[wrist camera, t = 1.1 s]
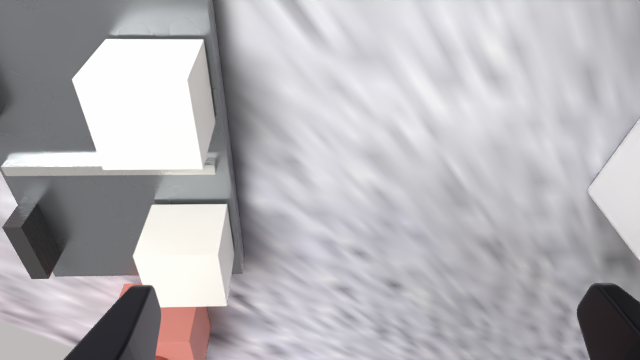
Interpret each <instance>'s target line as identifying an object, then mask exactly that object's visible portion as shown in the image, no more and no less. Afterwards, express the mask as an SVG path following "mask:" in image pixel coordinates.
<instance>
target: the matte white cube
mask: <svg viewBox="0 0 640 360" xmlns="http://www.w3.org/2000/svg"><path fill="white" fill-rule="evenodd" d="M133 258H134V261H135V264H136V267H137V270H138V273H139V276H140V278H141V281H142V284H143V285H152V286H153V287H154V289H155V291H156V295H157V298H158V301H159V305H160V307H206V306H227V301H228V295H229V288H230V281H231V274H232V267H233V260H234V249H233V242H232V235H231V228H230V221H229V214H228V207H227V204H178V205H152V206H151V209H150V211H149V214H148V217H147V219H146V222H145V225H144V227H143V230H142V233H141V235H140V238H139V241H138V244H137V246H136V249H135V252H134V254H133Z"/></svg>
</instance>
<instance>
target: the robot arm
mask: <svg viewBox="0 0 640 360" xmlns="http://www.w3.org/2000/svg"><path fill="white" fill-rule="evenodd" d="M577 317H578V321H579V324H580V328H581V331H582V334H583V338H584V341H585V344H586V348H587V351H588V354H589V357H590V360H640V302H639V301H637V300H636V299H635V298H633V297H632V296H631V295H629V294H628V293H627V292H626V291H624V290H623V289H622V288H620V287H619V286H617V285H615V284H612V283H595V284H593V285H591V286H590V288H589V289H588V291H587V292H586V294H585V295H584V297H583V299H582V300H581V302H580V303H579V305H578V308H577ZM160 324H161V308H160V305H159V301H158V298H157V295H156V291H155V289H154V287H153V286H152V285H133V286H131V287H130V288H129V289H128V290H127V291H126V292H125V293H124V294H123V295H122V296H121V297H120V298H119V299H118V300H117V302H116V303H115V304H114V305H113V306H112V307H111V308H110V309H109V310H108V311H107V313H106V314H105V315H104V316H103V317H102V318H101V319H100V320H99V321H98V322H97V324H96V325H95V326H94V327H93V328H92V329H91V330H90V331H89V332H88V333H87V334H86V336H85V337H84V338H83V339H82V340H81V341H80V342H79V343H78V344H77V345H76V347H75V348H74V349H73V350H72V351H71V352H70V353H69V354H68V356H66V357H65V359H64V360H155V355H156V349H157V343H158V336H159V330H160Z"/></svg>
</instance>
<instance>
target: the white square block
mask: <svg viewBox="0 0 640 360" xmlns="http://www.w3.org/2000/svg"><path fill="white" fill-rule="evenodd" d="M72 81H73V84H74V87H75V90H76V93H77V95H78V98H79V101H80V104H81V107H82V110H83V113H84V116H85V119H86V122H87V124H88V127H89V130H90V133H91V136H92V139H93V142H94V145H95V148H96V151H97V154H98V156H99V159H100V162H101V165H102V168H103V170H166V169H203V167H204V163H205V159H206V156H207V152H208V148H209V144H210V141H211V137H212V133H213V129H214V126H215V115H214V108H213V101H212V94H211V87H210V80H209V73H208V66H207V59H206V52H205V45H204V39H105V41H104V42H103V43H102V44H101V45H100V47H99V48H98V49H97V50H96V51H95V52H94V54H93V55H92V56H91V57H90V58H89V60H88V61H87V62H86V63H85V64H84V66H83V67H82V68H81V69H80V70H79V72H78V73H77V74H76V75H75V76H74V77H73V79H72Z"/></svg>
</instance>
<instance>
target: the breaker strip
mask: <svg viewBox="0 0 640 360" xmlns="http://www.w3.org/2000/svg"><path fill="white" fill-rule="evenodd" d="M105 39H204V45H205V52H206V59H207V66H208V73H209V80H210V87H211V94H212V101H213V108H214V115H215V126H214V129H213V133H212V137H211V141H210V144H209V148H208V152H207V156H206V159H205V163H204V167H203V169H166V170H103V168H102V165H101V162H100V159H99V156H98V154H97V151H96V148H95V145H94V142H93V139H92V136H91V133H90V130H89V127H88V124H87V122H86V119H85V116H84V113H83V110H82V107H81V104H80V101H79V98H78V95H77V93H76V90H75V87H74V84H73V81H72V79H73V77H74V76H75V75H76V74H77V73H78V72H79V70H80V69H81V68H82V67H83V66H84V64H85V63H86V62H87V61H88V60H89V58H90V57H91V56H92V55H93V54H94V52H95V51H96V50H97V49H98V48H99V47H100V45H101V44H102V43H103V42H104V41H105ZM0 171H1V173H2V175H3V177H4V179H5V181H6V183H7V185H8V186H9V188H10V190H11V192H12V194H13V196H14V198H15V200H16V202H17V204H18V206H17V207H16V209H15V210H14V212H13V213H12V214H11V216H10V217H9V219H8V220H7V221H6V223H5V224H4V226H3V227H2V228H3V229H4V231H5V233H6V235H7V236H8V238H9V240H10V242H11V243H12V245H13V247H14V249H15V251H16V252H17V254H18V256H19V258H20V259H21V261H22V263H23V265H24V266H25V268H26V270H27V272H28V273H29V275H30V277H31V279H49V277H50V275H51V273H52V271H53V273H54V275H55V276H118V275H139V273H138V270H137V267H136V264H135V261H134V258H133V254H134V252H135V249H136V246H137V244H138V241H139V238H140V235H141V233H142V230H143V227H144V225H145V222H146V219H147V217H148V214H149V211H150V209H151V206H152V205H178V204H227V207H228V214H229V221H230V228H231V235H232V242H233V249H234V260H233V267H232V274H242V273H243V264H244V250H243V242H242V233H241V225H240V217H239V209H238V201H237V193H236V185H235V176H234V168H233V160H232V152H231V144H230V136H229V128H228V119H227V111H226V103H225V95H224V87H223V79H222V71H221V62H220V54H219V46H218V38H217V30H216V22H215V14H214V5H213V0H0Z"/></svg>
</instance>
